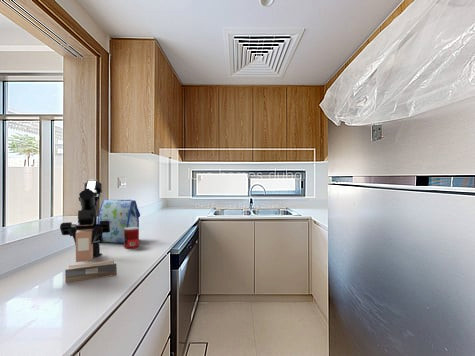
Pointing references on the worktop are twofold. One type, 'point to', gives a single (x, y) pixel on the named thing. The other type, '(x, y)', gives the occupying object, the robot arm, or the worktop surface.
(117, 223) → the lunch bag
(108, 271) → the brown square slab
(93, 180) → the robot arm
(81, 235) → the carton
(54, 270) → the worktop surface
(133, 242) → the canned food
